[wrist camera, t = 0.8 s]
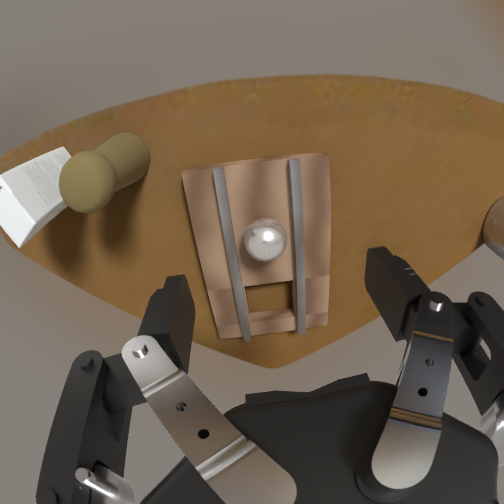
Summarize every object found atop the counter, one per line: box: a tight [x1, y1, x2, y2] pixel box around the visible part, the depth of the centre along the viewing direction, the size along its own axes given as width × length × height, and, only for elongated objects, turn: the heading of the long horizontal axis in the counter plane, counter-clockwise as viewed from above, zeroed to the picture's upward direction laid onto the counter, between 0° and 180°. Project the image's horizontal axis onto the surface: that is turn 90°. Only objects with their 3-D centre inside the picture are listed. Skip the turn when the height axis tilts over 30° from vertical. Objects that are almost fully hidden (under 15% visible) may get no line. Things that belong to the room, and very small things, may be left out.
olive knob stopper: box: [59, 132, 150, 214], centre depth 24 cm, size 6×6×11 cm
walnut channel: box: [181, 152, 331, 342], centre depth 34 cm, size 15×23×3 cm, turn 7°
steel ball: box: [244, 218, 287, 262], centre depth 30 cm, size 4×4×4 cm
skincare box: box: [0, 147, 71, 248], centre depth 23 cm, size 6×4×12 cm
